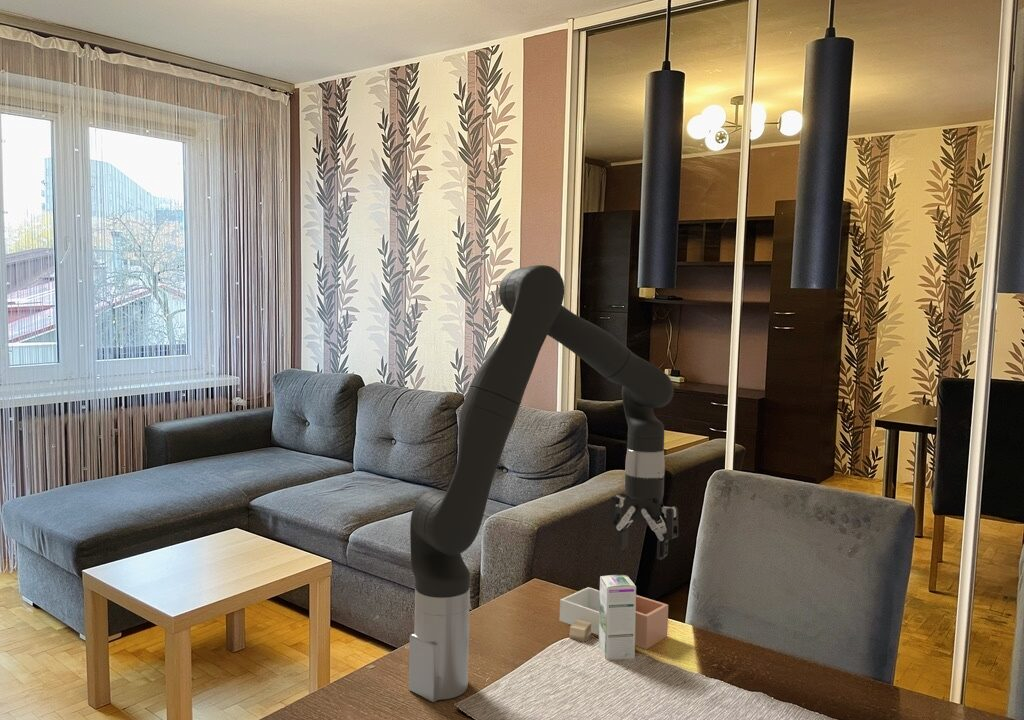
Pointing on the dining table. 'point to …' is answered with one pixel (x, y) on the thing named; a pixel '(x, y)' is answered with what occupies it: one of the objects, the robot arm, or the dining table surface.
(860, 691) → the dining table surface
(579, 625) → the beech block
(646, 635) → the open box
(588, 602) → the bin
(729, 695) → the dining table surface
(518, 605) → the dining table surface
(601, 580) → the syrup box
